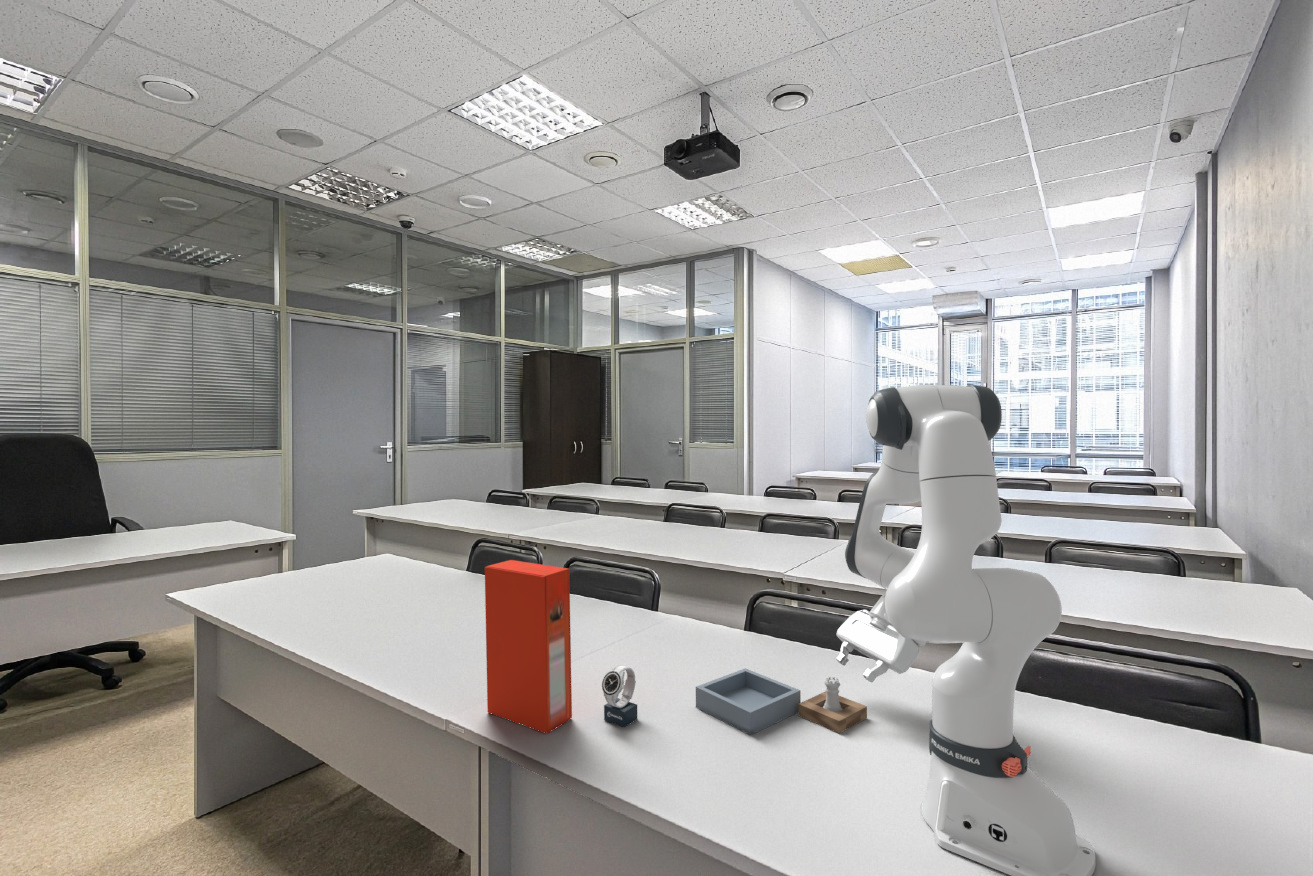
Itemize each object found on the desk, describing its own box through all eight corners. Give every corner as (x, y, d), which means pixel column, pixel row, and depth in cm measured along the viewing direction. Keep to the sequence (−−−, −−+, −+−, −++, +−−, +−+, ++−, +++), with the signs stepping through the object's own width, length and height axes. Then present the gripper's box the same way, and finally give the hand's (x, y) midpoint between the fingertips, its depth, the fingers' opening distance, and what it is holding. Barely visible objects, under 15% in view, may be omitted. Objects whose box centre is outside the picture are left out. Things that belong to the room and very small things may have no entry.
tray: (800, 711, 130) (800, 690, 130) (750, 735, 120) (750, 712, 120) (745, 687, 143) (745, 668, 143) (695, 707, 133) (695, 686, 133)
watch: (597, 723, 126) (597, 671, 126) (622, 709, 132) (622, 659, 132) (618, 731, 122) (618, 677, 122) (642, 716, 129) (642, 664, 129)
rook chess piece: (826, 710, 131) (826, 673, 131) (847, 716, 128) (846, 678, 128) (818, 717, 127) (817, 680, 127) (838, 724, 124) (838, 685, 124)
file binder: (545, 735, 121) (543, 576, 121) (486, 713, 130) (484, 566, 130) (571, 718, 128) (570, 568, 128) (514, 699, 137) (512, 559, 137)
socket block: (867, 718, 127) (867, 706, 127) (839, 733, 121) (839, 721, 121) (826, 701, 135) (826, 690, 135) (798, 715, 128) (798, 703, 128)
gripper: (852, 598, 141) (816, 645, 138) (915, 625, 122) (874, 680, 119) (868, 615, 143) (833, 662, 140) (933, 644, 123) (893, 699, 120)
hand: (852, 670), depth 129 cm, fingers open, 8 cm apart
